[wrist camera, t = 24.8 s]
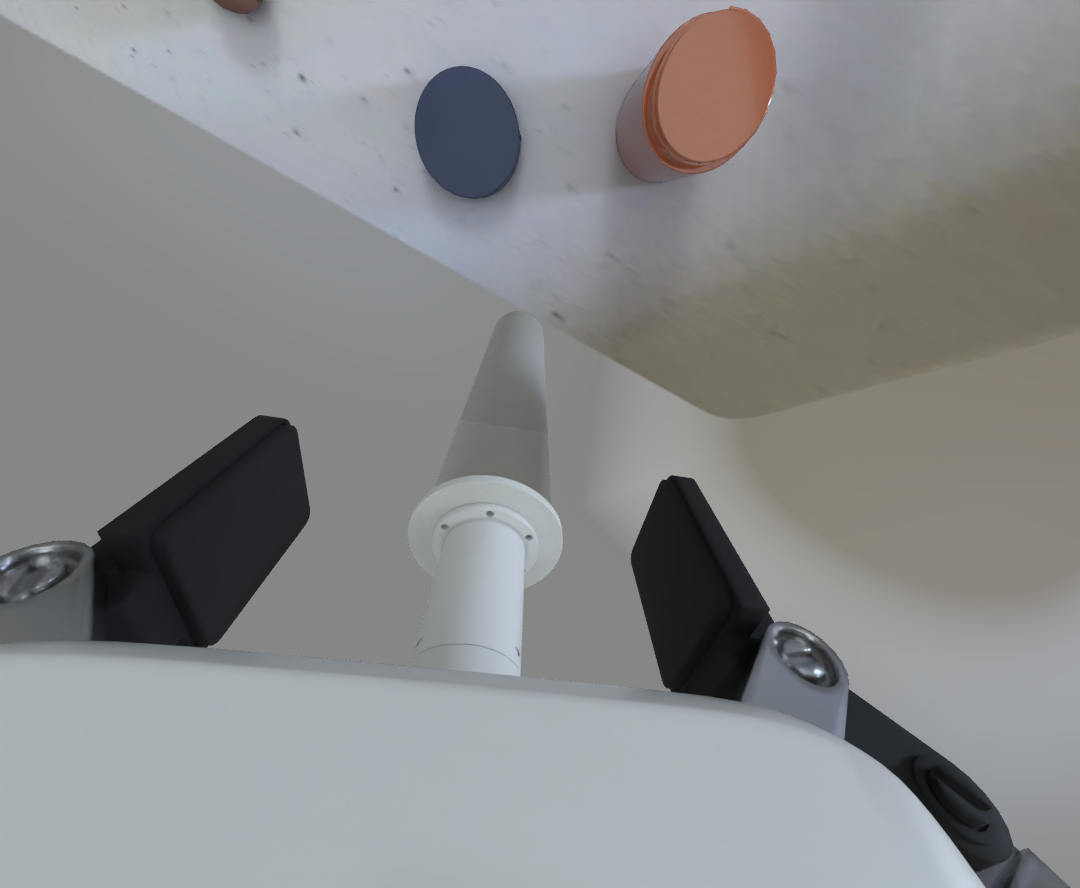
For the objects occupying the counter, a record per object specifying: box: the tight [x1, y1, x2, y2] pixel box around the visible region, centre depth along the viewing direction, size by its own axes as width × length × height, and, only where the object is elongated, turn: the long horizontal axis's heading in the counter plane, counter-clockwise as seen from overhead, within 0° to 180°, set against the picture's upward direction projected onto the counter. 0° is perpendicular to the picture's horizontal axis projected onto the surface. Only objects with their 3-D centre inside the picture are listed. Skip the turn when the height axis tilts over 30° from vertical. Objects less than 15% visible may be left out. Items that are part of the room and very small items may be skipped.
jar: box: [616, 6, 777, 183], centre depth 23 cm, size 6×6×10 cm
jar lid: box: [415, 66, 521, 199], centre depth 27 cm, size 7×7×2 cm
